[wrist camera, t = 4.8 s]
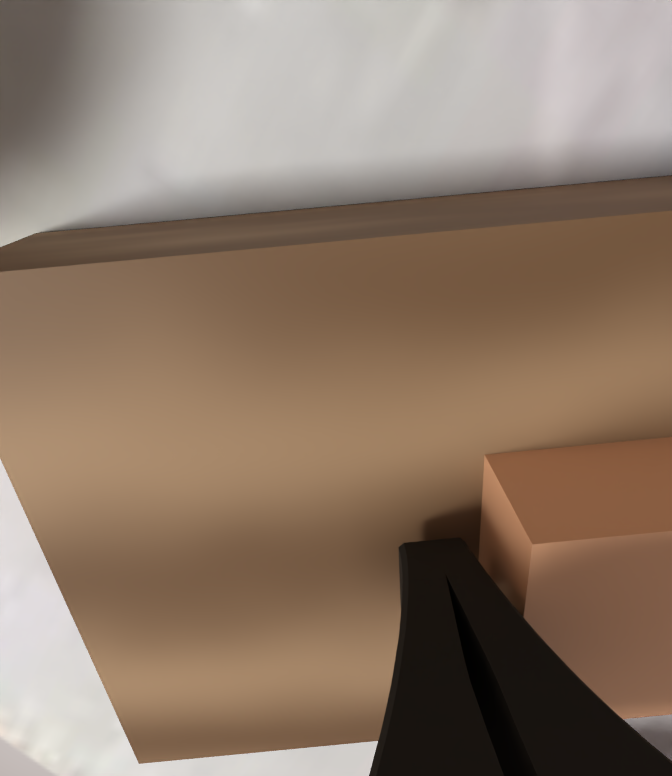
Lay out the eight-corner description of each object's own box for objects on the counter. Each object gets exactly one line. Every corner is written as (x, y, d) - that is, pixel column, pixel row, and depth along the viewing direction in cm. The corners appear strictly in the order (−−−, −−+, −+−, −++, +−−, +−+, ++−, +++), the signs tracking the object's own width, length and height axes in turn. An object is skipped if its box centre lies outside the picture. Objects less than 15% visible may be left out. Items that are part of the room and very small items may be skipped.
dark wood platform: (594, 599, 18) (663, 713, 15) (172, 638, 18) (139, 763, 15) (683, 174, 12) (841, 194, 8) (36, 233, 12) (-82, 279, 8)
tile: (677, 604, 13) (755, 705, 10) (474, 623, 13) (510, 730, 10) (731, 431, 10) (846, 514, 8) (484, 454, 10) (532, 544, 8)
